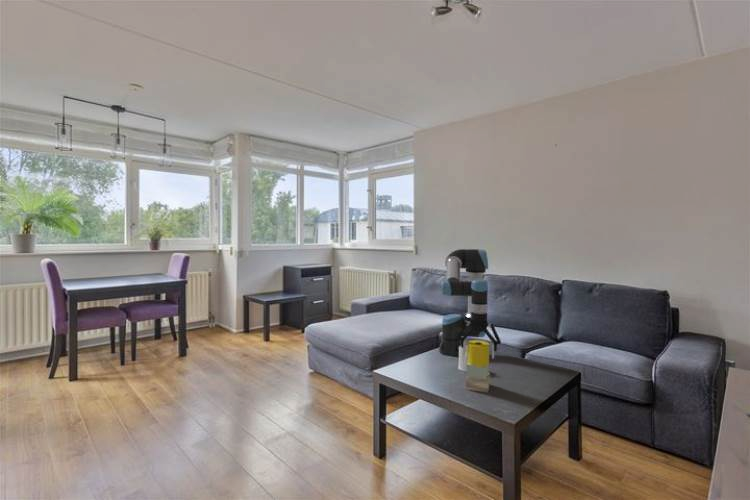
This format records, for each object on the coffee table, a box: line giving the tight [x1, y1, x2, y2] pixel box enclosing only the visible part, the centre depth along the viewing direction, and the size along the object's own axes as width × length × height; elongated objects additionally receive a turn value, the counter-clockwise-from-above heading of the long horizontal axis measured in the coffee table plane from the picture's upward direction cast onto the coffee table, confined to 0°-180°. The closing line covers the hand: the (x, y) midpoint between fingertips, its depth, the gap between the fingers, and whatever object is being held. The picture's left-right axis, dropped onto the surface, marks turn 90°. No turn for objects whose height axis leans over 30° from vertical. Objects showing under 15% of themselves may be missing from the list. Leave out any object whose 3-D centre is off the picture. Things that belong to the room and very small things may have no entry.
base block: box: [465, 372, 491, 394], centre depth 179 cm, size 10×10×6 cm
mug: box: [457, 344, 468, 373], centre depth 201 cm, size 12×8×12 cm
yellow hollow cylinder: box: [467, 339, 490, 366], centre depth 179 cm, size 10×10×9 cm
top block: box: [466, 363, 490, 380], centre depth 179 cm, size 9×9×6 cm
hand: (478, 355), depth 179 cm, fingers open, 13 cm apart
